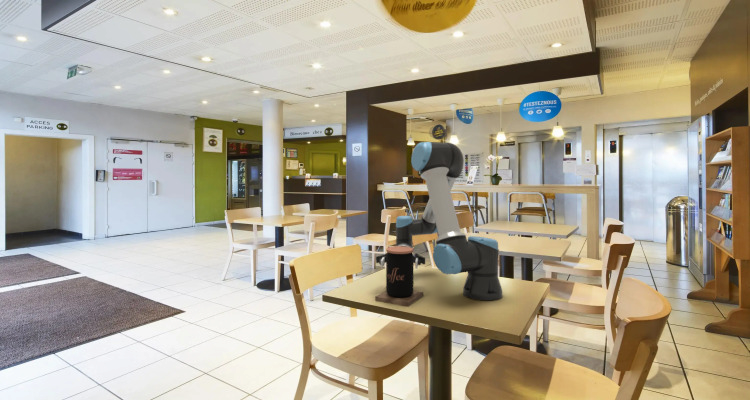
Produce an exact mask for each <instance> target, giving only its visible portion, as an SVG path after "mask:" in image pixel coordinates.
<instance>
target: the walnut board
mask: <svg viewBox="0 0 750 400" xmlns="http://www.w3.org/2000/svg"><path fill="white" fill-rule="evenodd" d="M422 297H424V292H423V291H417V290H413V293H412V295H411V296H410V297H406V298H394V297H391V296H389V295H388V294H387V292H386V290H385V291H383V292H381V293H379V294H377V295H376V296H374V300H375V301H376V302H382V303H388V304H393V305H397V304H398V305H399V306H403V307H409V306H411V305H413V304H414V303H416V302H417V301H418V300H419V299H421V298H422ZM398 305H397V306H398Z"/></svg>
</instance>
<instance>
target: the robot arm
mask: <svg viewBox="0 0 750 400" xmlns="http://www.w3.org/2000/svg"><path fill="white" fill-rule="evenodd" d="M411 166H412V169H414V170H415V171H417V172H419V174H420V175H419V176H420V178H421V179H422V180H425V184H426V188H427V192H428V197H429V199H428V201H427V204H426V206H425V209H424V211H423V213H422V216H421V218H419V219H413V217H412V216H410V215H399V216H397V217H396V220H395V232H396V233H395V234H396V236H395V237H396V238H395V246H404V247H411V248H413V237H414V236H424V235H432V234H437V236H438V237H437V238H436V241H435V243H436V245H434V248H433V252H432V258H433V261H434V265H435V266H436V268H437V269H438V270H439V271H440V272H441V273H443V274H445V275H457V274H462V273H467V276H466V279H465V282H464V284H463V287H462V290H463V291H462V294H463V296H464V297H466V298H469V299H472V300H478V301H496V300H500V299H502V298H503V289H502V286H501V282H500V280H499V252H500V249H499V243H498V241H497V239H493V238H491V237H490V238H489V237H482V236H475V235H470V236H468V237H467V235H466V234H465V233H464V232H462V231H461V228H460V224H459V219H458V216H457V213H456V208H455V204H454V201H453V196H452V193H451V191H452V189H453V187H454V185H455V183H456V180H457V179H459V178H460V176H461V174H462V172H463V168H464V155H463V152H462V150H461V149H460V148H459V147H458V145H456V144H454V143H452V142H435V141H434V142H432V141H426V142H425V141H422V142H418V143H417V144H416V146H415V147H414V148H413V151H412V154H411ZM413 249H414V248H413ZM386 255H387V252H385V253H383V254H381V255H377V256H375V263H376V264H379V265H380V268H383V267H384V266H385V265H386ZM413 256H414V264H415V269H416V270H417V269H418V266H421V264H422V265H425V264H426V257H424V256H422V255H420V254H418V253H414V254H413Z"/></svg>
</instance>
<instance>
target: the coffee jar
mask: <svg viewBox="0 0 750 400" xmlns="http://www.w3.org/2000/svg"><path fill="white" fill-rule="evenodd" d="M385 249H386V250H385V252H386V253H387V255H386V263H385V265H386V266H385V278H386V279H385V280H386V281H385V284H386V286H385V291H386V292H387V294H388V295H389V296H391V297H394V298H406V297H410V296H411V295H412V293H413V291H414V264H415V263H414V256H413V255H414V254H413V252H414V248H411V247H404V246H396V245H395V246H389V247H386V248H385Z"/></svg>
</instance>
